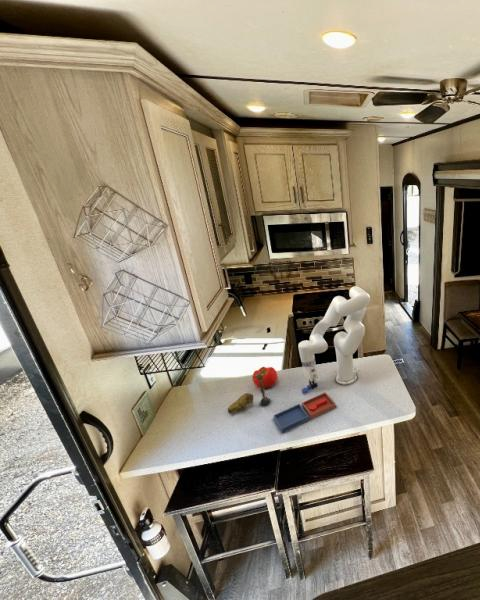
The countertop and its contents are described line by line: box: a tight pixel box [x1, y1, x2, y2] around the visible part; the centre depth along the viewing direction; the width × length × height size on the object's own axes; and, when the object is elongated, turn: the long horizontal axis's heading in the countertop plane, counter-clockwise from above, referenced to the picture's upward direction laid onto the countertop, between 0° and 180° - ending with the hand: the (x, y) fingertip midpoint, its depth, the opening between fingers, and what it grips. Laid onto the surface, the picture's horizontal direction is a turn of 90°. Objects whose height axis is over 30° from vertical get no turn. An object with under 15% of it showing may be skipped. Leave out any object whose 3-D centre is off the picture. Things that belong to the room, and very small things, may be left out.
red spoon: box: [310, 398, 327, 411], centre depth 179 cm, size 10×4×2 cm, turn 128°
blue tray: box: [273, 403, 310, 434], centre depth 171 cm, size 14×12×3 cm
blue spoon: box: [301, 382, 319, 394], centre depth 191 cm, size 10×4×2 cm, turn 128°
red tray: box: [301, 392, 337, 420], centre depth 179 cm, size 14×12×3 cm
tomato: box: [251, 366, 278, 389], centre depth 196 cm, size 14×13×10 cm
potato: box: [227, 392, 254, 414], centre depth 178 cm, size 8×13×8 cm, turn 109°
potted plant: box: [252, 373, 271, 407], centre depth 179 cm, size 6×5×20 cm
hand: (313, 386), depth 193 cm, fingers closed on blue spoon, 1 cm apart
